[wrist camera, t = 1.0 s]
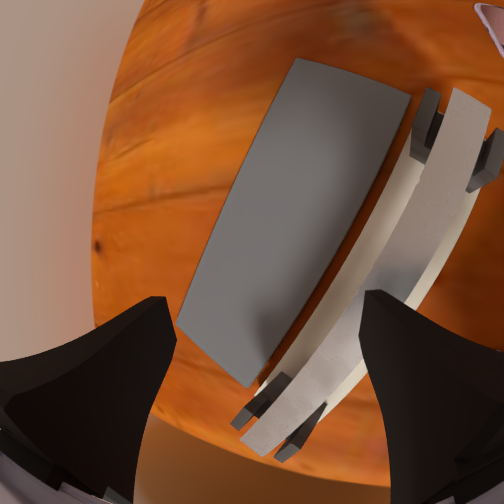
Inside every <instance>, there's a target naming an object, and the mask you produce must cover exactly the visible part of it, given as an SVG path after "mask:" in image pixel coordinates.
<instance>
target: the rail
mask: <svg viewBox="0 0 504 504" xmlns="http://www.w3.org/2000/svg"><path fill="white" fill-rule="evenodd" d="M491 110H492V109H490V108H489V107H487V106H486V105H484V104H483V103H481V102H479V101H478V100H476V99H474V98H473V97H471V96H469V95H468V94H466V93H464V92H462V91H460V90H459V89H457V88H455V87H454V88H453V91H452V95H451V98H450V101H449V104H448V107H447V110H446V113H445V116H444V119H443V121H442V124H441V127H440V129H439V132H438V135H437V137H436V140H435V142H434V145H433V147H432V150H431V152H430V155H429V157H428V159H427V162H426V164H425V166H424V169H423V171H422V173H421V175H420V178H419V180H418V182H417V184H416V186H415V188H414V191H413V193H412V195H411V197H410V199H409V201H408V203H407V205H406V207H405V209H404V211H403V213H402V215H401V217H400V219H399V221H398V222H397V224H396V226H395V228H394V230H393V232H392V234H391V235H390V237H389V239H388V241H387V243H386V244H385V246H384V248H383V250H382V252H381V253H380V255H379V257H378V258H377V260H376V262H375V263H374V265H373V267H372V269H371V270H370V272H369V273H368V275H367V277H366V278H365V280H364V282H363V283H362V285H361V286H360V288H359V289H358V291H357V293H356V294H355V296H354V297H353V299H352V300H351V302H350V303H349V305H348V306H347V308H346V309H345V311H344V312H343V314H342V315H341V317H340V318H339V319H338V321H337V322H336V324H335V325H334V327H333V328H332V329H331V331H330V332H329V334H328V335H327V336H326V338H325V339H324V341H323V342H322V343H321V345H320V346H319V347H318V349H317V350H316V351H315V353H314V354H313V355H312V357H311V358H310V359H309V360H308V362H307V363H306V364H305V366H304V367H303V368H302V369H301V371H300V372H299V373H298V374H297V376H296V377H295V378H294V379H293V380H292V382H291V383H290V384H289V385H288V387H287V388H286V389H285V390H284V391H283V392H282V394H281V395H280V396H279V397H278V398H277V399H276V401H275V402H274V403H273V404H272V405H271V406H270V407H269V409H268V410H267V411H266V412H265V413H264V414H263V415H262V416H261V417H260V419H259V420H258V421H257V422H256V423H255V424H254V425H253V426H252V427H251V428H250V429H249V430H248V431H247V432H246V433H245V434H244V435H243V436H242V437H241V439H240V440H241V441H242V442H243V443H244V444H246V445H247V446H248V447H250V448H251V449H252V450H254V451H255V452H256V453H258V454H259V455H260V456H262V457H264V456H265V455H266V454H267V453H269V452H270V451H271V450H272V449H274V448H275V447H276V446H277V445H278V444H279V443H281V442H282V441H283V440H284V439H285V438H286V437H288V436H289V435H290V434H291V433H292V432H293V431H294V430H295V429H296V428H298V427H299V426H300V425H301V424H302V423H303V422H304V421H305V420H306V419H307V418H308V417H309V416H310V415H311V414H312V413H313V412H314V411H315V410H316V409H317V408H318V407H319V406H320V405H321V404H322V403H323V402H324V401H325V400H326V399H327V398H328V397H329V396H330V395H331V394H332V393H333V392H334V391H335V390H336V389H337V388H338V387H339V385H340V384H341V383H342V382H343V381H344V380H345V379H346V378H347V377H348V375H349V374H350V373H351V372H352V371H353V370H354V369H355V367H356V366H357V365H358V364H359V363H360V361H361V360H362V359H363V356H362V351H361V347H360V342H359V337H358V334H359V328H360V322H361V316H362V310H363V303H364V295H365V290H376V289H381V290H383V291H385V292H387V293H389V294H390V295H392V296H394V297H395V298H397V299H398V300H400V301H401V302H403V303H405V301H406V300H407V298H408V297H409V295H410V294H411V292H412V291H413V289H414V287H415V286H416V284H417V283H418V281H419V279H420V278H421V276H422V275H423V273H424V271H425V269H426V268H427V266H428V264H429V263H430V261H431V259H432V257H433V256H434V254H435V252H436V250H437V248H438V246H439V245H440V243H441V241H442V239H443V237H444V235H445V233H446V231H447V229H448V227H449V225H450V223H451V221H452V219H453V217H454V215H455V213H456V210H457V208H458V206H459V204H460V201H461V199H462V197H463V194H464V192H465V190H466V187H467V185H468V182H469V180H470V177H471V175H472V172H473V169H474V167H475V164H476V161H477V158H478V155H479V152H480V149H481V146H482V143H483V140H484V136H485V133H486V129H487V126H488V122H489V118H490V114H491Z"/></svg>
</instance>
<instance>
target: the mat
mask: <svg viewBox="0 0 504 504" xmlns="http://www.w3.org/2000/svg"><path fill="white" fill-rule="evenodd" d="M410 100H411V95H409V94H407V93H405V92H402V91H400V90H398V89H395V88H393V87H390V86H388V85H385V84H383V83H380V82H378V81H375V80H372V79H370V78H367V77H364V76H361V75H358V74H355V73H352V72H349V71H346V70H342V69H339V68H336V67H332V66H328V65H325V64H321V63H317V62H313V61H309V60H304V59H300V58H296V59H295V61H294V63H293V64H292V66H291V68H290V70H289V72H288V74H287V76H286V78H285V80H284V81H283V83H282V85H281V87H280V89H279V91H278V93H277V95H276V97H275V99H274V101H273V103H272V105H271V107H270V109H269V111H268V113H267V115H266V117H265V119H264V121H263V123H262V125H261V127H260V129H259V131H258V133H257V135H256V137H255V139H254V141H253V143H252V146H251V148H250V150H249V152H248V154H247V156H246V158H245V160H244V162H243V165H242V167H241V169H240V171H239V173H238V175H237V178H236V180H235V182H234V184H233V186H232V189H231V191H230V193H229V195H228V197H227V200H226V202H225V204H224V206H223V209H222V211H221V213H220V216H219V218H218V220H217V222H216V225H215V227H214V229H213V232H212V234H211V236H210V239H209V241H208V243H207V246H206V248H205V251H204V253H203V255H202V258H201V260H200V263H199V265H198V268H197V270H196V273H195V275H194V277H193V280H192V282H191V285H190V287H189V290H188V293H187V295H186V298H185V300H184V303H183V305H182V308H181V310H180V313H179V316H178V318H177V321H176V325H177V326H178V327H179V328H180V329H181V330H182V331H183V332H184V333H185V334H186V335H187V336H188V337H189V338H190V339H191V340H192V341H193V342H194V343H195V344H196V345H198V346H199V347H200V348H201V349H202V350H203V351H204V352H205V353H206V354H207V355H208V356H209V357H211V358H212V359H213V360H214V361H215V362H216V363H217V364H218V365H220V366H221V367H222V368H223V369H224V370H225V371H226V372H228V373H229V374H230V375H231V376H232V377H233V378H235V379H236V380H237V381H238V382H239V383H241V384H242V385H243V386H244V387H245V388H248V387H250V386H251V384H252V383H253V381H254V380H255V379H256V377H257V376H258V375H259V373H260V372H261V370H262V369H263V368H264V366H265V365H266V363H267V362H268V360H269V359H270V357H271V356H272V355H273V353H274V352H275V350H276V349H277V347H278V346H279V344H280V343H281V341H282V340H283V338H284V337H285V335H286V334H287V332H288V331H289V329H290V328H291V326H292V325H293V323H294V322H295V320H296V319H297V317H298V315H299V314H300V312H301V311H302V309H303V308H304V306H305V304H306V303H307V301H308V300H309V298H310V296H311V295H312V293H313V291H314V290H315V288H316V287H317V285H318V283H319V282H320V280H321V278H322V277H323V275H324V273H325V272H326V270H327V268H328V266H329V265H330V263H331V261H332V260H333V258H334V256H335V254H336V253H337V251H338V249H339V247H340V245H341V244H342V242H343V240H344V238H345V236H346V235H347V233H348V231H349V229H350V227H351V225H352V224H353V222H354V220H355V218H356V216H357V214H358V212H359V210H360V209H361V207H362V205H363V203H364V201H365V199H366V197H367V195H368V193H369V191H370V189H371V187H372V185H373V183H374V181H375V179H376V177H377V175H378V173H379V171H380V169H381V166H382V164H383V162H384V160H385V158H386V156H387V154H388V151H389V149H390V147H391V145H392V143H393V140H394V138H395V136H396V134H397V131H398V129H399V127H400V124H401V122H402V120H403V117H404V115H405V113H406V110H407V108H408V105H409V103H410Z"/></svg>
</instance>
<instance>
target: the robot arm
mask: <svg viewBox="0 0 504 504" xmlns="http://www.w3.org/2000/svg"><path fill="white" fill-rule="evenodd" d="M358 337H359V342H360V347H361V351H362V356H363V359H364V362H365V365H366V368H367V371H368V373H369V376H370V379H371V382H372V385H373V387H374V390H375V393H376V396H377V399H378V402H379V405H380V408H381V412H382V416H383V421H384V426H385V432H386V438H387V445H388V453H389V463H390V479H391V504H504V352H501V351H500V350H494V349H491V348H488V347H485V346H482V345H480V344H477V343H475V342H472V341H470V340H467V339H465V338H463V337H461V336H459V335H457V334H455V333H453V332H451V331H449V330H447V329H445V328H443V327H441V326H440V325H438V324H436V323H435V322H433V321H431V320H429V319H428V318H426V317H425V316H423V315H421V314H420V313H418V312H417V311H415V310H414V309H412V308H410V307H409V306H407V305H406V304H404V303H403V302H401V301H400V300H398V299H397V298H395V297H394V296H392V295H390V294H389V293H387V292H385V291H383V290H381V289H376V290H365V295H364V303H363V310H362V316H361V322H360V328H359V334H358ZM176 342H177V338H176V334H175V331H174V327H173V324H172V320H171V316H170V312H169V308H168V304H167V300H166V297H163V296H151V297H149V298H146V299H144V300H143V301H141V302H139V303H137V304H136V305H134V306H132V307H131V308H129V309H127V310H126V311H124V312H123V313H121V314H119V315H118V316H116V317H114V318H113V319H111V320H110V321H108V322H106V323H104V324H103V325H101V326H99V327H97V328H96V329H94V330H92V331H91V332H89V333H87V334H85V335H83V336H81V337H79V338H77V339H75V340H73V341H71V342H68V343H66V344H64V345H62V346H59V347H56V348H53V349H51V350H48V351H45V352H42V353H39V354H36V355H33V356H29V357H25V358H20V359H16V360H11V361H4V362H0V429H1V430H0V504H110V503H107V502H105V501H102V500H100V499H103V500H106V501H108V502H111V503H113V504H133V495H134V484H135V475H136V468H137V462H138V456H139V450H140V446H141V441H142V437H143V433H144V430H145V426H146V422H147V419H148V415H149V413H150V410H151V407H152V405H153V402H154V400H155V398H156V395H157V393H158V391H159V389H160V386H161V384H162V382H163V379H164V377H165V375H166V372H167V370H168V368H169V365H170V363H171V360H172V357H173V353H174V350H175V346H176ZM92 495H93V496H95V497H93V496H92ZM96 497H97V498H96ZM98 498H100V499H98Z"/></svg>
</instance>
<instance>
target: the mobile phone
mask: <svg viewBox="0 0 504 504" xmlns="http://www.w3.org/2000/svg"><path fill="white" fill-rule="evenodd" d="M474 9H475V11H476V13H477V14H478V16H479V17H480V19H481V21H482V22H483V24H484V25H485V27H486V29H487V31H488V32H489V34H490V36H491V38H492V39H493V41H494V43H495V45H496V47H497V49H498V51H499V53H500V54H501V55H502V57H503V58H504V8H502V7H498V6H493V5H488V4H483V3H476V4H475V5H474Z"/></svg>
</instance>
